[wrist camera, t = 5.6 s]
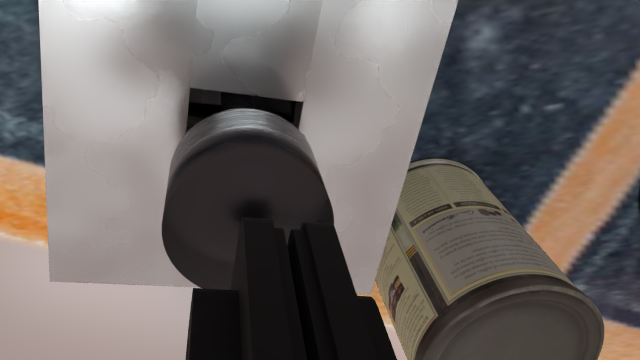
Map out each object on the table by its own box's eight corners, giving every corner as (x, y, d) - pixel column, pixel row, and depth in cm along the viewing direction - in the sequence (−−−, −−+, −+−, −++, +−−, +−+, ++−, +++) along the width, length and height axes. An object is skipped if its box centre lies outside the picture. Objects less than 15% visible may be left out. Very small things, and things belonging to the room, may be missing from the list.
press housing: (416, -140, 29) (663, -153, 13) (344, 161, 37) (443, 377, 21) (47, -230, 25) (-246, -411, 9) (57, 133, 33) (-86, 377, 17)
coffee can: (498, 246, 43) (609, 391, 31) (375, 290, 43) (438, 452, 31) (478, 135, 38) (602, 258, 26) (338, 186, 38) (397, 333, 26)
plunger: (312, -31, 25) (444, 99, 11) (288, 108, 28) (366, 350, 14) (157, -59, 23) (75, 49, 9) (149, 92, 26) (78, 347, 12)
